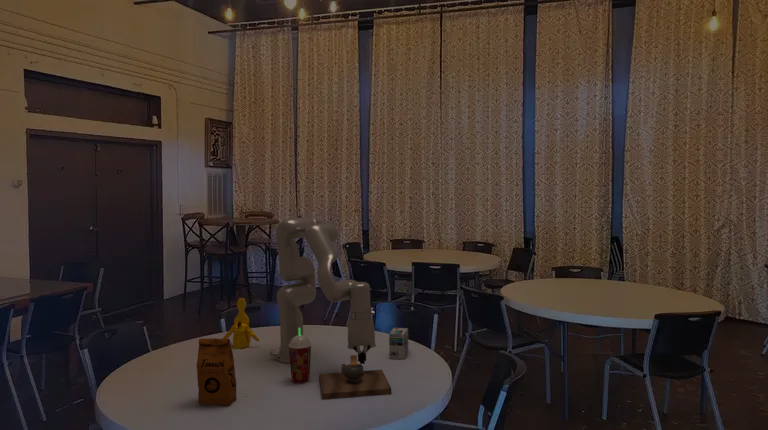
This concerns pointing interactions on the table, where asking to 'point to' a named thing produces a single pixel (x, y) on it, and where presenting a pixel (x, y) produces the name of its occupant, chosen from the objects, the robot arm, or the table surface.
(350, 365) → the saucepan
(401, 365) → the table surface
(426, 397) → the table surface
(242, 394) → the table surface
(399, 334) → the light bulb box
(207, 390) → the coffee package
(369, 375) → the wooden board with lever
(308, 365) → the smoothie
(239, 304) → the figure statuette
